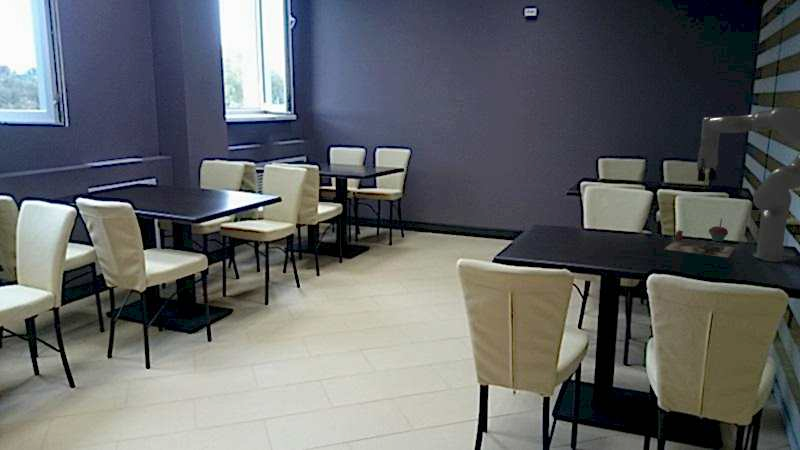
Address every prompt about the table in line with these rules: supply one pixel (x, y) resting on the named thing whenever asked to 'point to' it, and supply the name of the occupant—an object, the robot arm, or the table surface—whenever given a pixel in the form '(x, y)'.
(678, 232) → the lever
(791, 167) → the robot arm
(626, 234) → the table surface
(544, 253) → the table surface
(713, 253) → the cracker base
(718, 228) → the cupcake
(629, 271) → the table surface
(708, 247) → the walnut
